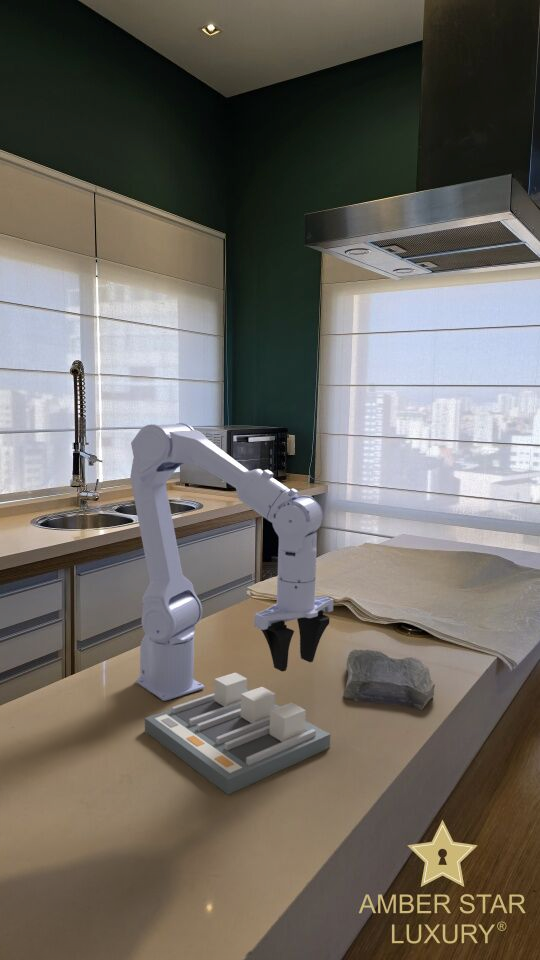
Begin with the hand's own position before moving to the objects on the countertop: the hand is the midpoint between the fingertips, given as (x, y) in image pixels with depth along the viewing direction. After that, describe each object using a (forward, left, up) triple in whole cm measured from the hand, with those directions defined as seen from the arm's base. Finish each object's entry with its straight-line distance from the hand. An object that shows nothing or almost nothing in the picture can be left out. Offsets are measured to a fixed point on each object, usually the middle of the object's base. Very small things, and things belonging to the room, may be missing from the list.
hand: (293, 664), depth 101 cm
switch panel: (0, -11, -8) cm, 14 cm away
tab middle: (0, -7, -6) cm, 9 cm away
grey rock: (+2, +21, -9) cm, 23 cm away
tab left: (-6, -7, -6) cm, 11 cm away
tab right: (+7, -7, -6) cm, 11 cm away
